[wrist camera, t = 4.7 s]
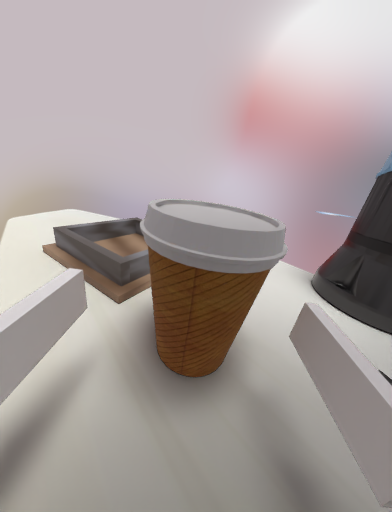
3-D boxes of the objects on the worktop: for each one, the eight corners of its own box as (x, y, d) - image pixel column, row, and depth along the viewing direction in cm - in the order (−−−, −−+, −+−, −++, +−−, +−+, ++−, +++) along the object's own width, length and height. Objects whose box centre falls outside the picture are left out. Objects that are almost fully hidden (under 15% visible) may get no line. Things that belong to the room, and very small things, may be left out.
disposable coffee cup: (187, 297, 23) (203, 198, 18) (260, 344, 17) (308, 223, 13) (114, 340, 16) (107, 196, 11) (199, 441, 10) (257, 250, 6)
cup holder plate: (136, 232, 42) (137, 215, 41) (202, 258, 34) (205, 238, 33) (43, 251, 28) (38, 226, 26) (118, 303, 20) (117, 272, 18)
